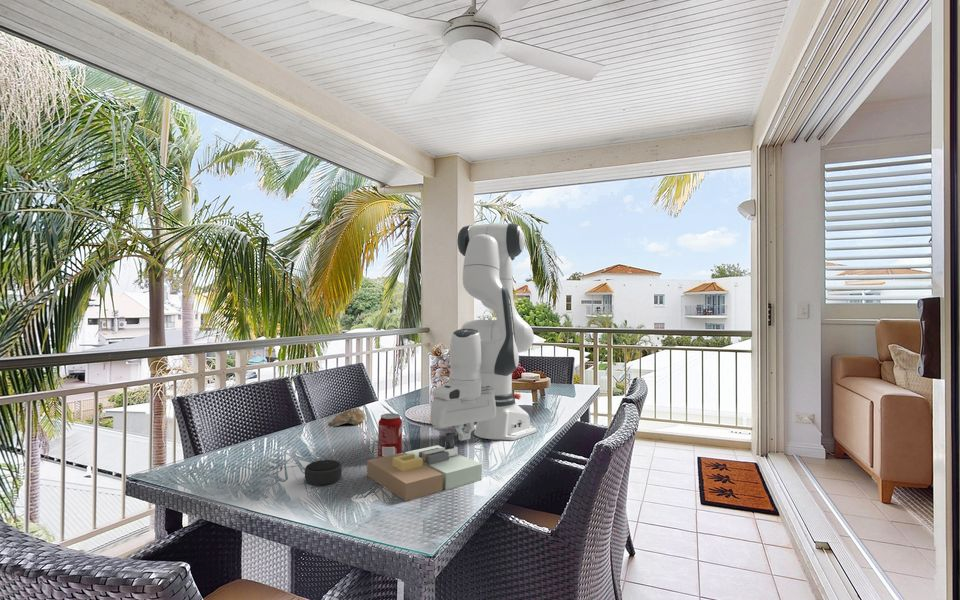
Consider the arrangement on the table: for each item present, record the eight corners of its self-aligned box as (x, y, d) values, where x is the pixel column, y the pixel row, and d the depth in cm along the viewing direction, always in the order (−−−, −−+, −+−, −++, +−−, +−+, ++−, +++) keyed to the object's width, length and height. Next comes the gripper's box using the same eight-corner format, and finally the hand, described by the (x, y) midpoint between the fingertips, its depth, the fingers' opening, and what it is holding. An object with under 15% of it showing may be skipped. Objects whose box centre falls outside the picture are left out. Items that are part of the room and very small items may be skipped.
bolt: (453, 452, 132) (453, 430, 132) (458, 454, 131) (458, 432, 131) (421, 459, 126) (421, 436, 126) (426, 462, 124) (426, 438, 124)
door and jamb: (437, 459, 140) (438, 438, 140) (481, 479, 124) (481, 456, 124) (366, 475, 126) (367, 452, 126) (405, 501, 111) (406, 474, 111)
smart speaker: (348, 476, 126) (348, 460, 126) (329, 489, 118) (329, 472, 118) (317, 472, 128) (318, 457, 128) (297, 485, 120) (297, 468, 120)
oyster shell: (330, 421, 182) (330, 408, 182) (364, 419, 185) (364, 406, 185) (330, 428, 173) (330, 414, 173) (366, 425, 176) (366, 412, 176)
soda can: (396, 461, 137) (397, 419, 137) (374, 459, 139) (374, 417, 139) (405, 454, 144) (405, 413, 144) (383, 452, 145) (384, 412, 145)
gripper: (487, 383, 142) (486, 430, 142) (427, 390, 129) (426, 442, 129) (501, 386, 137) (500, 435, 137) (441, 394, 124) (440, 448, 124)
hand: (464, 439), depth 133 cm, fingers closed
